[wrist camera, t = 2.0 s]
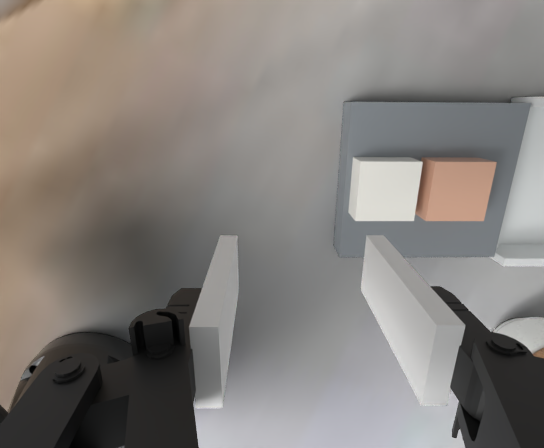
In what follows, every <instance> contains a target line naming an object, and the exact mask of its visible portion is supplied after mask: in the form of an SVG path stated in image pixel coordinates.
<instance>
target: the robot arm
mask: <svg viewBox="0 0 544 448" xmlns="http://www.w3.org/2000/svg"><path fill="white" fill-rule="evenodd" d="M361 291H362V293H363V295H364V297H365V299H366V301H367V303H368V305H369V306H370V308H371V310H372V312H373V314H374V316H375V318H376V320H377V322H378V324H379V326H380V328H381V330H382V331H383V333H384V335H385V337H386V339H387V341H388V343H389V345H390V347H391V349H392V351H393V353H394V355H395V356H396V358H397V360H398V362H399V364H400V366H401V368H402V370H403V372H404V374H405V376H406V378H407V380H408V381H409V383H410V385H411V387H412V389H413V391H414V393H415V395H416V397H417V399H418V401H419V403H420V405H421V406H447V405H448V400H449V396H450V391H451V389H452V391H453V392H454V394H455V396H456V397H457V399H458V400H459V404H458V408H457V412H456V416H455V420H454V424H453V429H452V437H453V438H457V434H458V430H459V429H461V433H462V437H463V440H464V444H465V448H544V358H540V357H535V356H533V354H532V353H531V351H530V350H529V349H528V348H527V347H526V346H525V345H524V344H522V343H521V342H519V341H517V340H516V339H514V338H511V337H509V336H507V335H504V334H499V333H495V332H490V331H489V330H488V329H487V328H486V327H485V326H484V325H483V324H482V323H481V322H480V321H479V320H478V319H477V318H476V317H475V316H474V315H473V314H472V313H471V312H470V311H468V309H467V308H466V307H465V306H464V305H463V304H461V302H460V301H459V300H458V299H457V298H456V297H455V296H454V295H453V294H452V293H451V292H449V291H447V290H445V289H443V288H442V287H440V286H429V285H428V284H427V283H426V281H425V280H424V279H423V278H422V277H421V276H420V275H419V274H418V273H417V272H416V270H415V269H414V268H413V267H412V266H411V265H410V264H409V263H408V262H407V261H406V259H405V258H404V257H403V256H402V255H401V254H400V253H399V252H398V251H397V250H396V248H395V247H394V246H393V245H392V244H391V243H390V242H389V241H388V240H387V239H386V238H385V236H384V235H366V244H365V254H364V263H363V273H362V282H361ZM238 294H239V271H238V235H220V237H219V240H218V243H217V246H216V249H215V252H214V255H213V258H212V261H211V264H210V267H209V270H208V273H207V276H206V278H205V281H204V284H203V287H202V288H181V289H180V290H179V291H178V292H176V293H175V294H174V295H173V296H172V297H171V299H170V301H169V303H168V307H166V309H156V310H152V311H148V312H145V313H143V314H141V315H139V316H138V317H136V318H135V319H134V320H133V321H132V322H131V324H130V326H129V334H130V340H131V344H129V343H127V342H125V341H123V340H120V339H118V338H115V337H112V336H108V335H104V334H98V333H76V334H71V335H67V336H64V337H61V338H58V339H56V340H54V341H53V342H51V343H49V344H48V345H47V346H45V347H44V348H43V349H42V350H41V351H40V352H39V354H38V355H37V356H36V357H35V358H34V359H33V360H32V361H31V362H30V364H29V365H28V366H27V368H26V370H25V371H24V373H23V375H22V377H21V380H20V382H19V385H18V387H17V390H16V392H15V395H14V397H13V399H12V402H11V404H10V407H9V409H8V412H7V411H6V410H5V409H4V408H3V407H2V406H1V405H0V448H199V447H198V439H197V431H196V423H195V415H194V407H193V401H194V397H195V404H196V408H223V402H224V395H225V388H226V381H227V374H228V366H229V359H230V352H231V345H232V337H233V330H234V323H235V316H236V308H237V301H238Z"/></svg>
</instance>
